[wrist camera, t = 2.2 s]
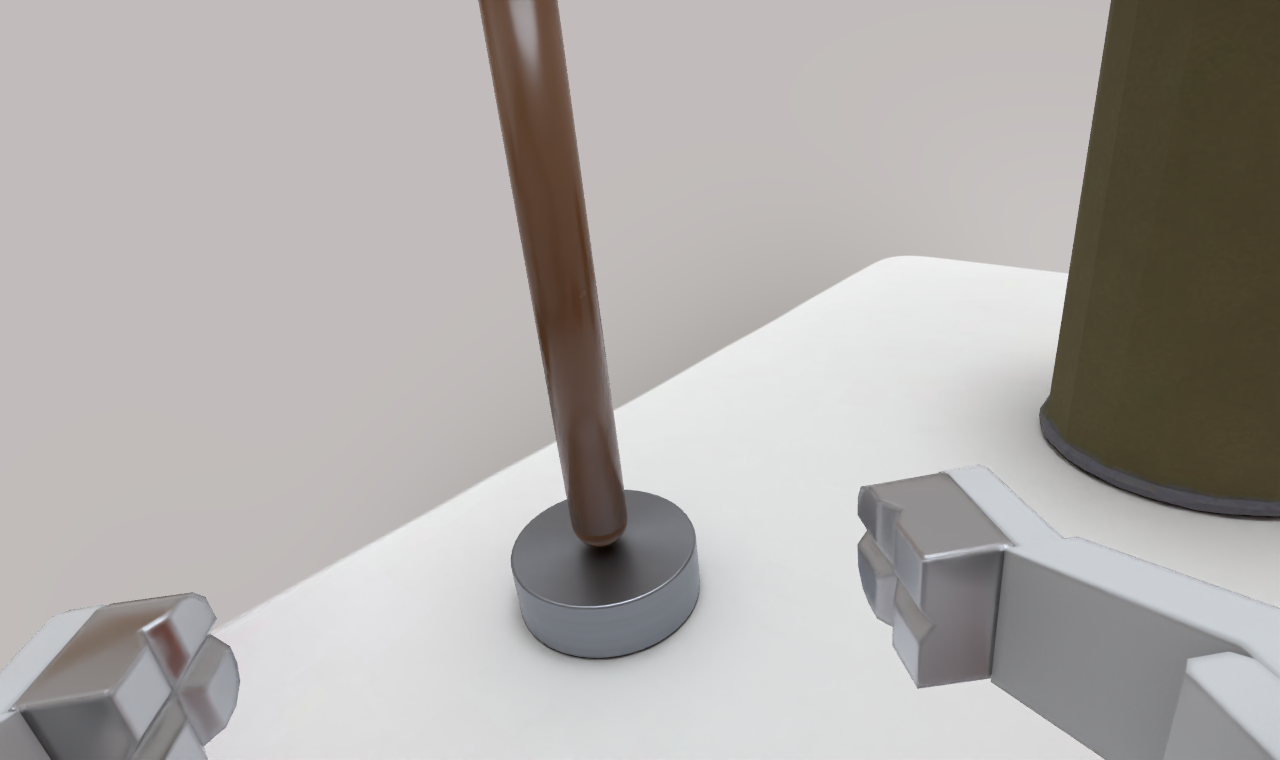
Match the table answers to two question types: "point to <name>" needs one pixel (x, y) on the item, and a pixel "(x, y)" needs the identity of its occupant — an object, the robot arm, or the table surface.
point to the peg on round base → (577, 380)
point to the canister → (1178, 262)
